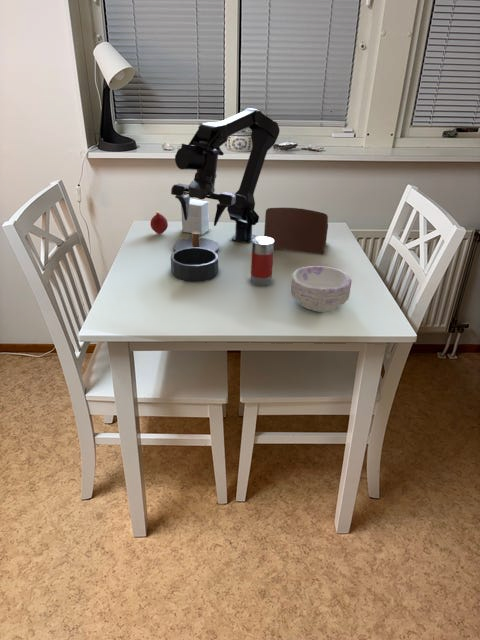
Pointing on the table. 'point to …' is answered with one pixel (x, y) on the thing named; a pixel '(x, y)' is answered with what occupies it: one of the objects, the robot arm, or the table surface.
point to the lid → (196, 243)
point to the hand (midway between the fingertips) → (200, 222)
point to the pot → (194, 264)
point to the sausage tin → (262, 261)
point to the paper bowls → (320, 287)
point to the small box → (196, 217)
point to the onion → (159, 223)
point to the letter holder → (297, 229)
